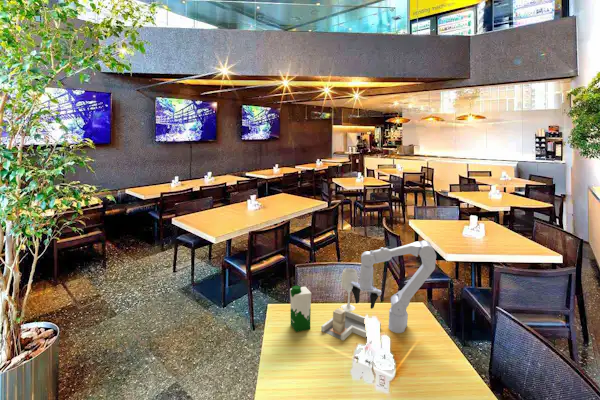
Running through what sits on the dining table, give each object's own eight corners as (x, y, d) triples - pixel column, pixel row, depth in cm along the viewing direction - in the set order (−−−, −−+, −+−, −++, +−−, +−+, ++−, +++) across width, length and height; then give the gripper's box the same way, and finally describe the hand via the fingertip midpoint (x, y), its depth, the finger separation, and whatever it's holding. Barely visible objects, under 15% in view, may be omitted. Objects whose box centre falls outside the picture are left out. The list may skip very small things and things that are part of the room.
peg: (337, 326, 145) (337, 308, 143) (344, 329, 142) (345, 310, 141) (332, 329, 141) (333, 311, 140) (340, 333, 139) (340, 314, 138)
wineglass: (356, 305, 166) (357, 267, 163) (357, 313, 158) (359, 274, 154) (339, 304, 167) (340, 267, 164) (340, 312, 159) (341, 273, 155)
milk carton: (288, 323, 148) (288, 284, 145) (305, 320, 151) (306, 281, 148) (294, 333, 140) (294, 292, 137) (313, 329, 143) (313, 288, 140)
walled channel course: (343, 315, 156) (343, 309, 155) (380, 329, 144) (380, 322, 143) (321, 332, 141) (321, 325, 140) (360, 349, 129) (360, 342, 128)
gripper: (348, 275, 144) (346, 303, 147) (377, 284, 136) (375, 313, 138) (355, 271, 150) (354, 297, 152) (384, 279, 141) (382, 307, 143)
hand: (364, 305), depth 145 cm, fingers open, 7 cm apart
